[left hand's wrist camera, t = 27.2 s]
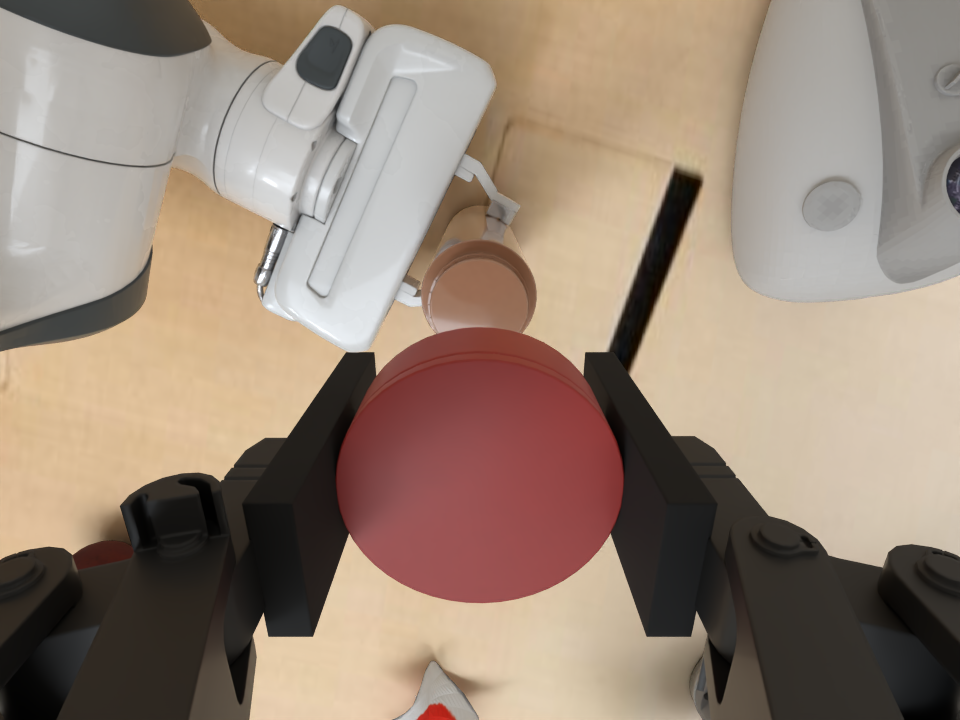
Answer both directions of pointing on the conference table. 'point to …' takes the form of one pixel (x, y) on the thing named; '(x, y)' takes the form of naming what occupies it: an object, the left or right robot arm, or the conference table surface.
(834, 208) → the projector
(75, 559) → the dark maroon ball
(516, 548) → the lid
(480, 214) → the jar
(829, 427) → the conference table surface
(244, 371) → the conference table surface
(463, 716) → the fish
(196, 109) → the right robot arm
